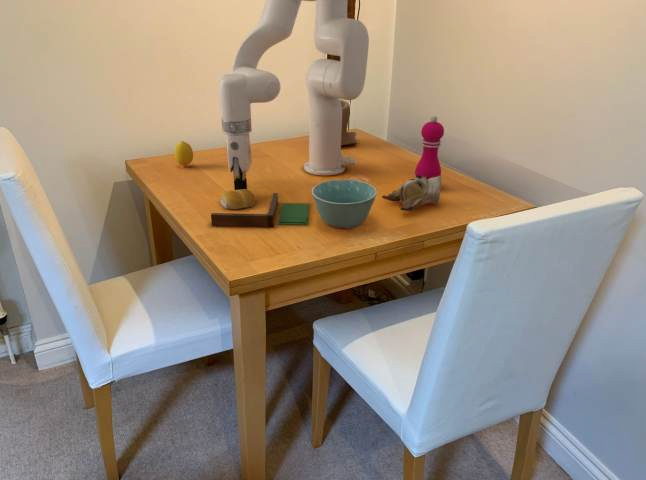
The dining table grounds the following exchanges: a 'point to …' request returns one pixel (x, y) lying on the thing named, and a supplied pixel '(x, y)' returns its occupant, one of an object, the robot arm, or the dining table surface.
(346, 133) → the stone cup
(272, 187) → the dining table surface
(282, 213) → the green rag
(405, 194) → the ceramic sculpture
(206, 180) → the dining table surface
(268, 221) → the corner guide
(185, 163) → the lemon
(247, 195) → the bread roll
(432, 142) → the pepper mill
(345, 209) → the bowl
